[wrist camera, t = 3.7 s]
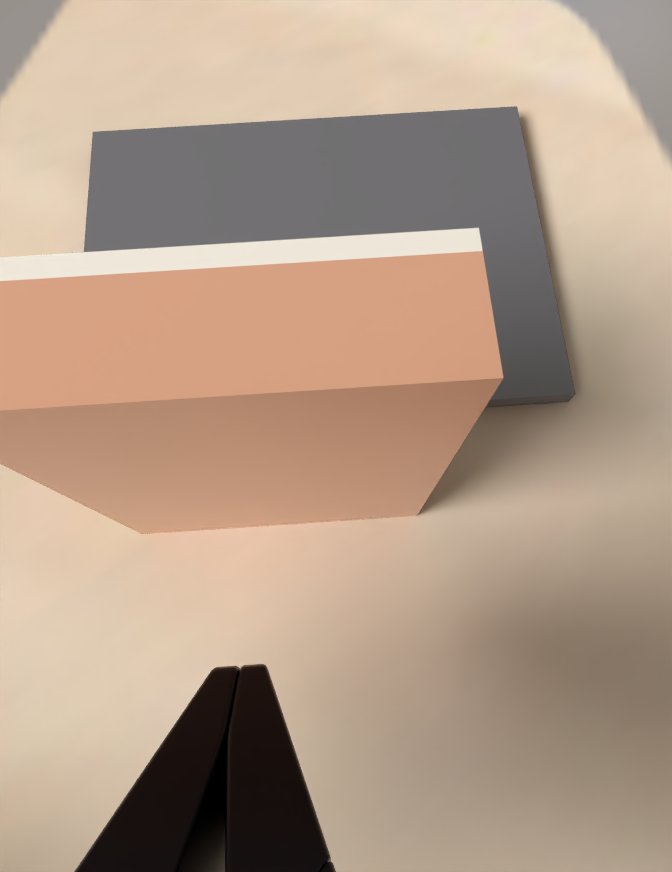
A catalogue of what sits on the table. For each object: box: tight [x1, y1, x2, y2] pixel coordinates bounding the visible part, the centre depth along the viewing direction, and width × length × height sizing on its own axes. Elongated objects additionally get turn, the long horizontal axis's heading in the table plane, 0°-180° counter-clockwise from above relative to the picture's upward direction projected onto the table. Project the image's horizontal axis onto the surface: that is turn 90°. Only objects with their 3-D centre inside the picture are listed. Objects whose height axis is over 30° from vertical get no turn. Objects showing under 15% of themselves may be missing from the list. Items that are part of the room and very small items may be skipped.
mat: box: [84, 106, 575, 407], centre depth 20 cm, size 11×15×1 cm
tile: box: [0, 228, 503, 534], centre depth 13 cm, size 2×8×10 cm, turn 94°
